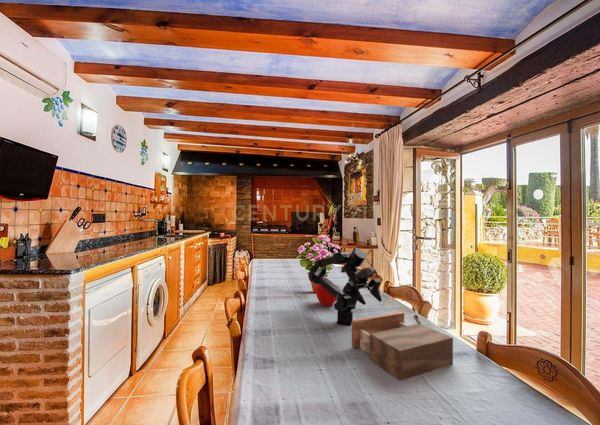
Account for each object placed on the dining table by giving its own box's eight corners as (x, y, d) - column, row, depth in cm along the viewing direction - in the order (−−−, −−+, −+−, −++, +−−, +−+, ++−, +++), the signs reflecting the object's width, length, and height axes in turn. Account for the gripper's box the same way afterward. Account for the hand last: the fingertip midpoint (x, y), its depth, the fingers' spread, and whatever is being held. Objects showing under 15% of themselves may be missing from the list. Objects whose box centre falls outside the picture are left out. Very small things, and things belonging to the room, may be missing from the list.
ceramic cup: (327, 311, 150) (327, 292, 151) (311, 302, 165) (311, 285, 166) (347, 307, 156) (347, 289, 157) (330, 299, 171) (330, 283, 172)
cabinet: (369, 359, 100) (369, 333, 100) (419, 347, 110) (419, 323, 110) (399, 380, 87) (399, 350, 87) (452, 364, 97) (452, 337, 97)
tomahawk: (435, 336, 123) (435, 333, 123) (418, 333, 125) (419, 330, 125) (426, 318, 143) (426, 316, 143) (412, 316, 145) (412, 314, 145)
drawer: (351, 346, 108) (351, 320, 109) (401, 336, 119) (401, 311, 119) (376, 364, 96) (376, 334, 96) (429, 350, 106) (429, 323, 106)
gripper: (345, 263, 121) (365, 293, 110) (377, 260, 130) (398, 288, 120) (334, 280, 127) (353, 310, 116) (365, 276, 136) (385, 304, 126)
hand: (373, 302), depth 119 cm, fingers open, 9 cm apart
